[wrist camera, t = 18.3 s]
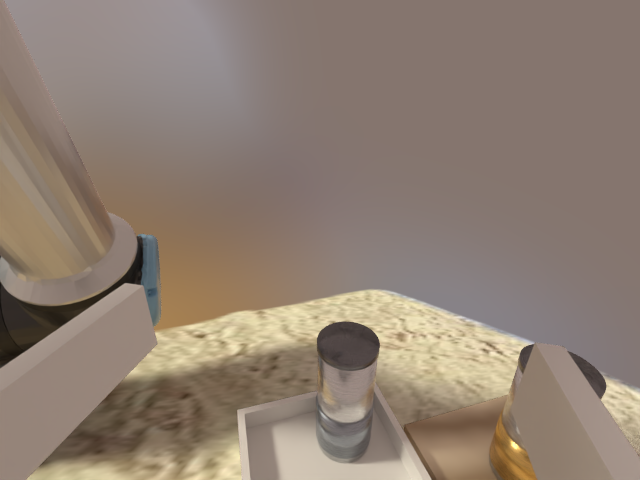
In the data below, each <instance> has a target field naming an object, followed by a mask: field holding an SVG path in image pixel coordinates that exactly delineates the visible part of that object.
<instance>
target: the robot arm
mask: <svg viewBox="0 0 640 480" xmlns="http://www.w3.org/2000/svg"><path fill="white" fill-rule="evenodd" d="M160 285H161V284H160V264H159V251H158V242H157V239H156V238H155V237H154V236H152V235H144V234H139V235H138V236H136V235H135V233H134V230H133V229H132V227H131V226H130V225H129V224H128V223H127V222H126V221H125V220H123V219H122V218H120V217H118V216H116V215H114V214H112V213H109V212H107V211H106V209H105V207H104V205H103V203H102V201H101V199H100V197H99V195H98V193H97V190H96V188H95V186H94V185H93V182H92V180H91V178H90V176H89V174H88V172H87V170H86V168H85V166H84V164H83V162H82V160H81V158H80V156H79V154H78V152H77V149H76V147H75V145H74V143H73V141H72V139H71V137H70V135H69V133H68V131H67V129H66V127H65V125H64V123H63V121H62V119H61V116H60V114H59V112H58V110H57V108H56V106H55V104H54V102H53V100H52V98H51V96H50V94H49V92H48V90H47V88H46V86H45V84H44V82H43V80H42V77H41V75H40V74H39V71H38V69H37V67H36V65H35V63H34V61H33V59H32V57H31V55H30V53H29V51H28V49H27V47H26V45H25V43H24V41H23V39H22V36H21V34H20V33H19V30H18V28H17V26H16V24H15V22H14V20H13V18H12V16H11V14H10V12H9V10H8V8H7V6H6V4H5V1H4V0H0V480H26V479H27V478H28V477H29V476H30V475H31V474H32V473H33V472H34V471H35V470H36V469H37V468H38V467H39V466H40V465H41V464H42V463H43V462H44V461H45V460H46V459H47V457H48V456H49V455H50V454H51V453H52V452H53V451H54V450H55V449H56V448H57V447H58V446H59V445H60V444H61V443H62V442H63V441H64V440H65V439H66V438H67V437H68V436H69V435H70V434H71V433H72V432H73V431H74V430H75V429H76V428H77V426H78V425H79V424H80V423H81V422H82V421H83V420H84V419H85V418H86V417H87V416H88V415H89V414H90V413H91V412H92V411H93V410H94V409H95V408H96V407H97V406H98V405H99V404H100V403H101V402H102V401H103V400H104V399H105V398H106V397H107V396H108V394H109V393H110V392H111V391H112V390H113V389H114V388H115V387H116V386H117V385H118V384H119V383H120V382H121V381H122V380H123V379H124V378H125V377H126V376H127V375H128V374H129V373H130V372H131V371H132V370H133V369H134V368H135V367H136V366H137V365H138V363H139V362H140V361H141V360H142V359H143V358H144V357H145V356H146V355H147V354H148V353H149V352H150V351H151V350H152V349H153V348H154V347H155V346H156V345H157V340H156V336H155V332H154V328H153V327H154V326H156V325H157V323H158V322H159V320H160V317H161V286H160ZM511 411H512V413H513V416H514V419H515V421H516V424H517V427H518V429H519V432H520V435H521V437H522V440H523V443H524V445H525V448H526V451H527V453H528V456H529V459H530V462H531V464H532V467H533V470H534V472H535V475H536V478H537V480H640V457H639V456H638V454H637V453H636V451H635V450H634V448H633V447H632V445H631V444H630V442H629V441H628V440H627V438H626V437H625V435H624V434H623V432H622V431H621V429H620V428H619V426H618V425H617V423H616V422H615V420H614V419H613V418H612V416H611V415H610V413H609V412H608V410H607V409H606V407H605V406H604V404H603V403H602V401H601V400H600V398H599V397H598V396H597V394H596V393H595V391H594V390H593V388H592V387H591V385H590V384H589V382H588V381H587V379H586V378H585V376H584V375H583V374H582V372H581V371H580V369H579V368H578V366H577V365H576V363H575V362H574V360H573V359H572V357H571V356H570V354H569V353H568V352H567V350H566V349H565V347H563V346H556V345H549V344H542V343H536V342H535V344H534V346H533V349H532V352H531V354H530V357H529V360H528V363H527V365H526V368H525V371H524V373H523V376H522V379H521V381H520V384H519V387H518V389H517V392H516V395H515V398H514V400H513V403H512V406H511Z"/></svg>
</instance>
